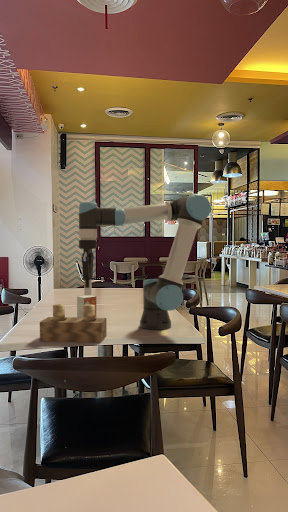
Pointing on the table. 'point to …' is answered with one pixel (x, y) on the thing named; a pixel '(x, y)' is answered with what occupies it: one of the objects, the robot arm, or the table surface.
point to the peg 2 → (89, 313)
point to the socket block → (73, 330)
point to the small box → (85, 303)
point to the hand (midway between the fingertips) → (87, 295)
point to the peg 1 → (59, 312)
